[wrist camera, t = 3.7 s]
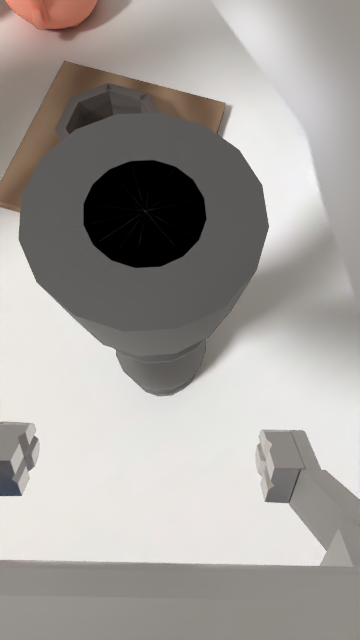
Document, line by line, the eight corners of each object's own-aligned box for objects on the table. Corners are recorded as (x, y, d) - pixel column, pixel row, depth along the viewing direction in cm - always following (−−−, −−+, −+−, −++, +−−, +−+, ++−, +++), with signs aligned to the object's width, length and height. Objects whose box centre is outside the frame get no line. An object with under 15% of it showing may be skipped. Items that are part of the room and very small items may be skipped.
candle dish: (-3, 206, 36) (-25, 179, 31) (67, 70, 41) (55, 33, 37) (176, 257, 35) (177, 236, 31) (223, 111, 40) (230, 78, 36)
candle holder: (185, 324, 33) (232, 84, 9) (203, 386, 31) (321, 303, 7) (124, 340, 32) (-12, 130, 8) (139, 404, 31) (28, 380, 6)
